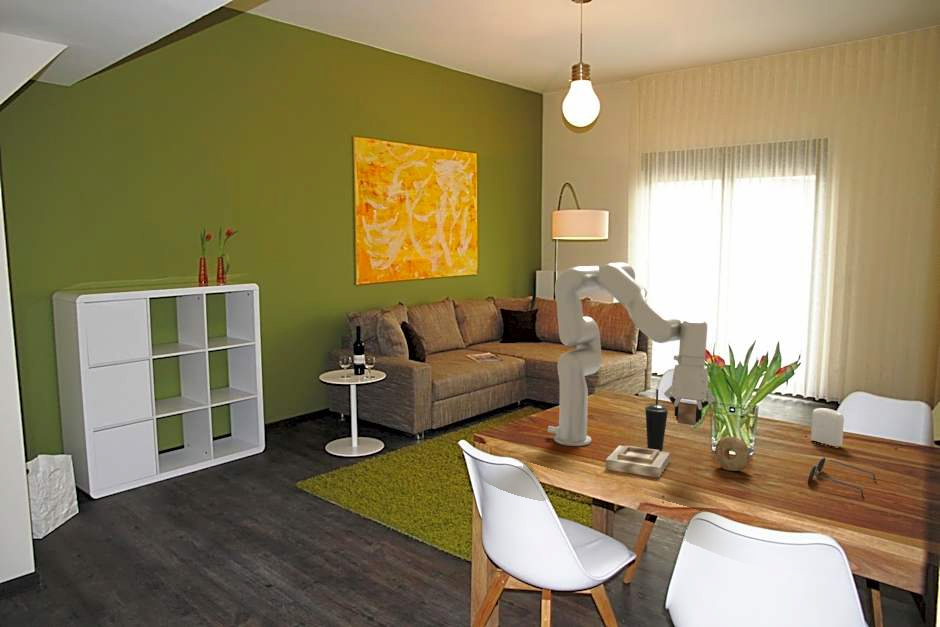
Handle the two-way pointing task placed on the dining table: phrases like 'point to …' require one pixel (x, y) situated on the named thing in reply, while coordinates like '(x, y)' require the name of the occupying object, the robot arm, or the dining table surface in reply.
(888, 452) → the dining table surface
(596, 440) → the dining table surface
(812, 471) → the sunglasses
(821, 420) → the photo printer
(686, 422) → the walnut block
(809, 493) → the dining table surface
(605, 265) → the robot arm
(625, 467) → the base
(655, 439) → the drinking cup
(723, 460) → the stone disc
